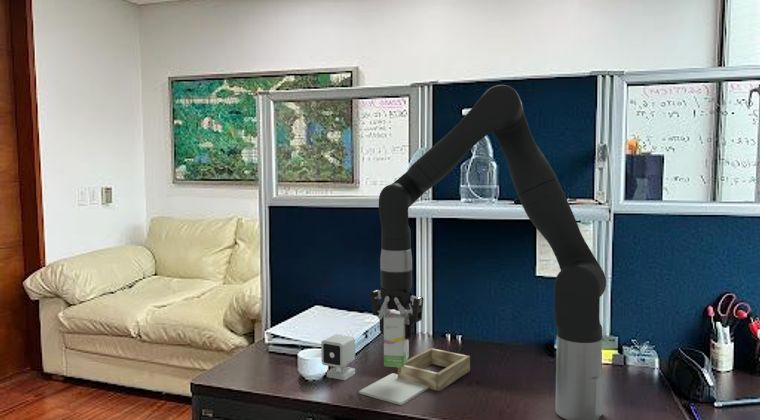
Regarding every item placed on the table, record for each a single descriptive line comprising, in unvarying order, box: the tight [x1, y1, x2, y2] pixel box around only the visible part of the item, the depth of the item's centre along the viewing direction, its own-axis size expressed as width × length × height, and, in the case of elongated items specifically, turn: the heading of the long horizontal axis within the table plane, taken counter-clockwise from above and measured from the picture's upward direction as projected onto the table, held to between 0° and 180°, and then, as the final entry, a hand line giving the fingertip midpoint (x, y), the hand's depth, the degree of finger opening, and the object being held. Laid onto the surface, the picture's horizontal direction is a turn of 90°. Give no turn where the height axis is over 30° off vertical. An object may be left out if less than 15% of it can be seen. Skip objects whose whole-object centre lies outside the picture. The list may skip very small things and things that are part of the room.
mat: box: [358, 372, 430, 406], centre depth 142 cm, size 12×14×1 cm
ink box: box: [383, 302, 410, 368], centre depth 141 cm, size 9×5×15 cm, turn 168°
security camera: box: [320, 333, 356, 381], centre depth 150 cm, size 6×7×10 cm
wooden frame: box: [397, 347, 471, 392], centre depth 150 cm, size 12×16×4 cm
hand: (396, 336), depth 141 cm, fingers closed on ink box, 6 cm apart
